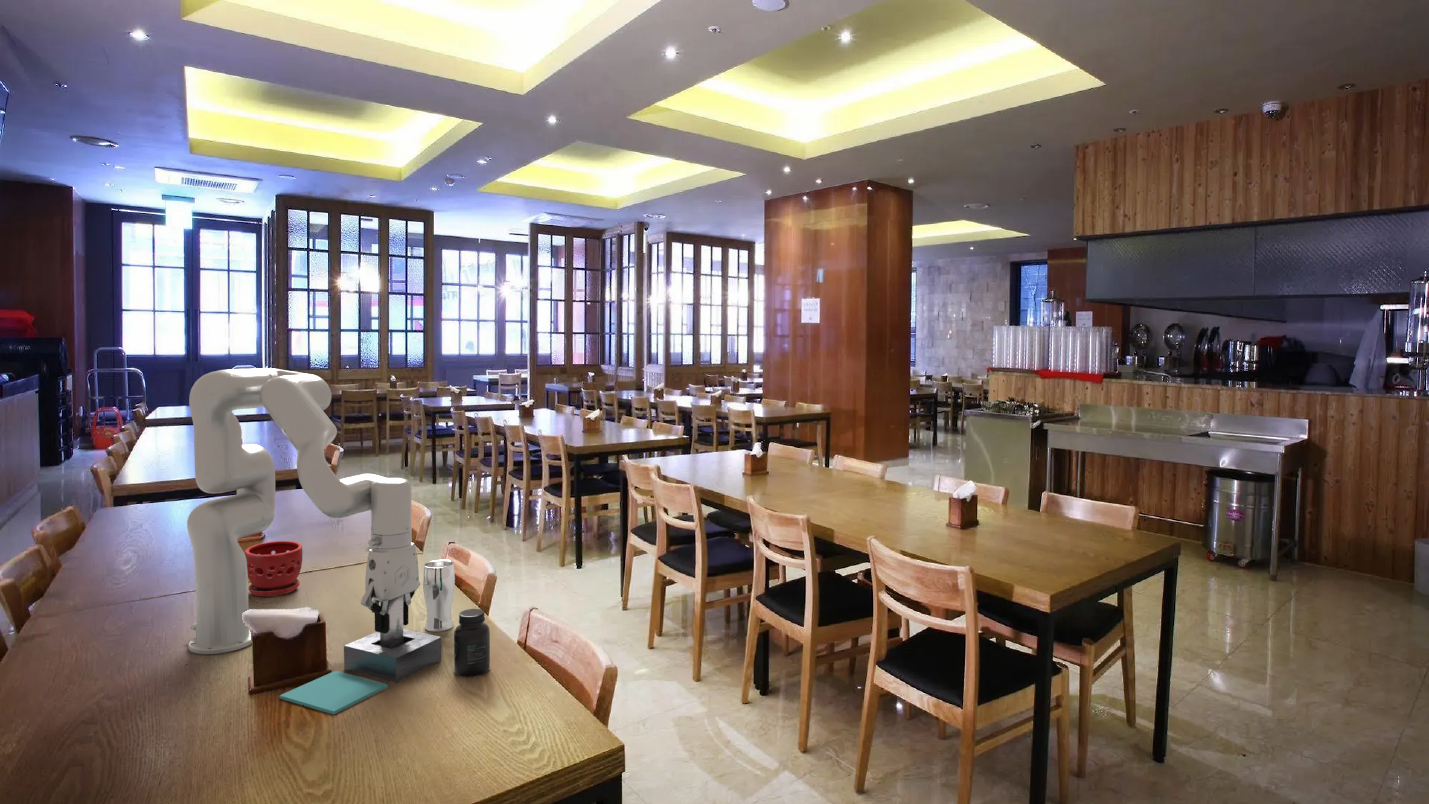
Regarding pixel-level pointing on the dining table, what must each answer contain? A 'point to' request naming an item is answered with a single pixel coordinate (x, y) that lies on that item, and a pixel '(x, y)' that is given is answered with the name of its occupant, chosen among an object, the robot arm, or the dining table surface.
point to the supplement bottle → (471, 644)
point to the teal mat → (334, 692)
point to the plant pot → (274, 567)
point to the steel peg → (393, 624)
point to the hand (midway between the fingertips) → (391, 627)
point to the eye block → (392, 656)
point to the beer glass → (438, 594)
